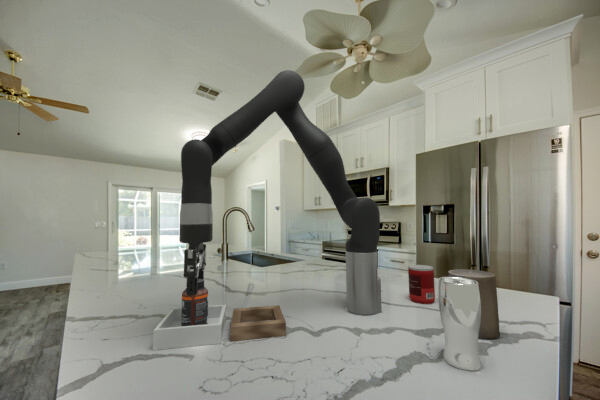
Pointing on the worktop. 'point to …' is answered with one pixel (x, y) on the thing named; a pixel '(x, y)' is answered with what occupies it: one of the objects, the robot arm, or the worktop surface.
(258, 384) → the worktop surface
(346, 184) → the robot arm
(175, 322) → the grey tray
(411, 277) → the canned food
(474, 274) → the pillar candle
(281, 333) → the walnut collar
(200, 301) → the supplement bottle
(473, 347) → the beer glass
